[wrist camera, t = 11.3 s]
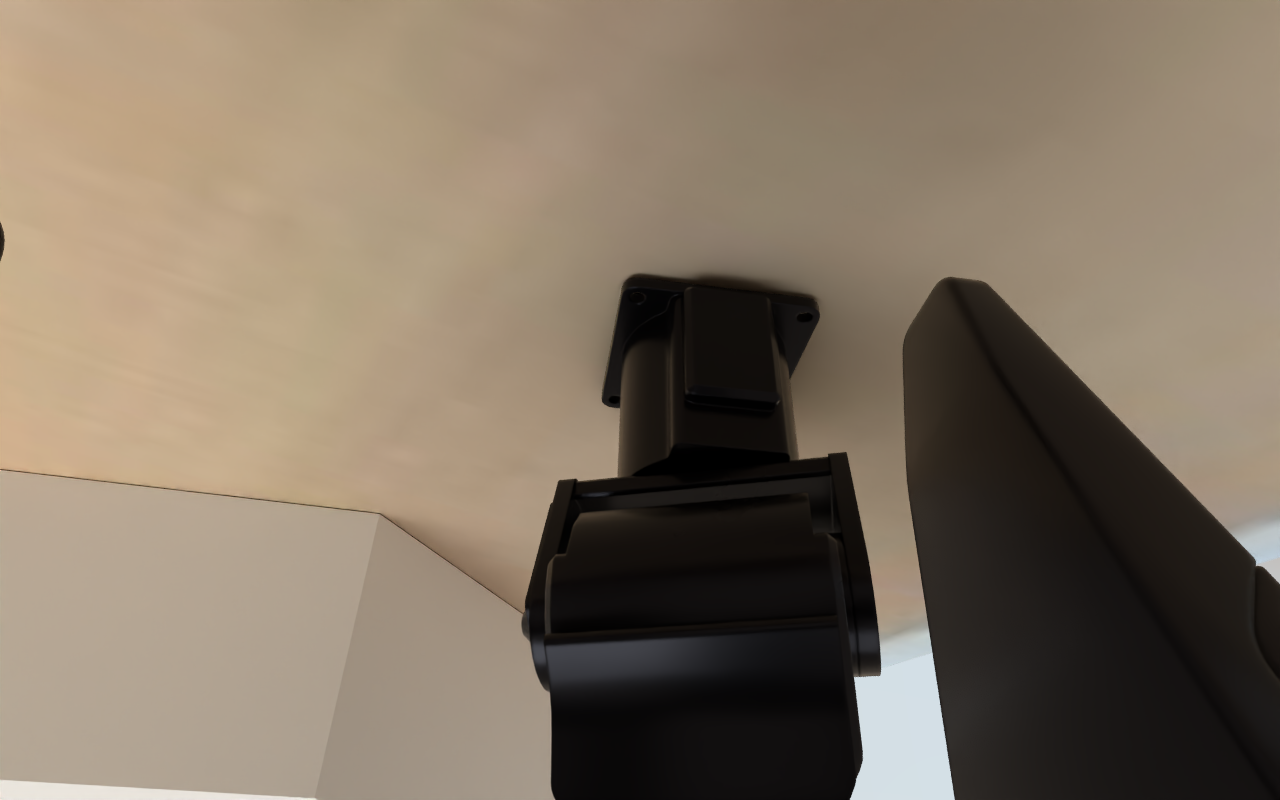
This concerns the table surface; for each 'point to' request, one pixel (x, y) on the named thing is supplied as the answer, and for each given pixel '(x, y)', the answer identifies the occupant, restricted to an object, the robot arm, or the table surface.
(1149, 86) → the table surface
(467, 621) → the block
